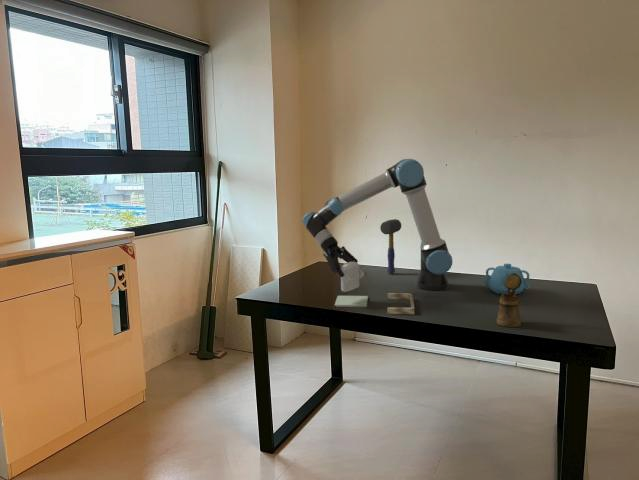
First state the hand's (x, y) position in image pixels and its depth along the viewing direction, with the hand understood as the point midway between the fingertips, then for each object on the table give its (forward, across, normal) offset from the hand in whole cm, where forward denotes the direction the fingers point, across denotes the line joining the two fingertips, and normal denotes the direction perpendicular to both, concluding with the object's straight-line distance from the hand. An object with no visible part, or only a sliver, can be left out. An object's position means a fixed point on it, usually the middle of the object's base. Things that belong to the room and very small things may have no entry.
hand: (355, 279), depth 218 cm
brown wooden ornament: (+53, -12, +37) cm, 66 cm away
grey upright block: (+2, 0, -6) cm, 6 cm away
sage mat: (+6, 0, -10) cm, 11 cm away
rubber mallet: (-1, -54, -17) cm, 57 cm away
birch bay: (+21, -6, +5) cm, 22 cm away
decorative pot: (+43, -51, +28) cm, 73 cm away
